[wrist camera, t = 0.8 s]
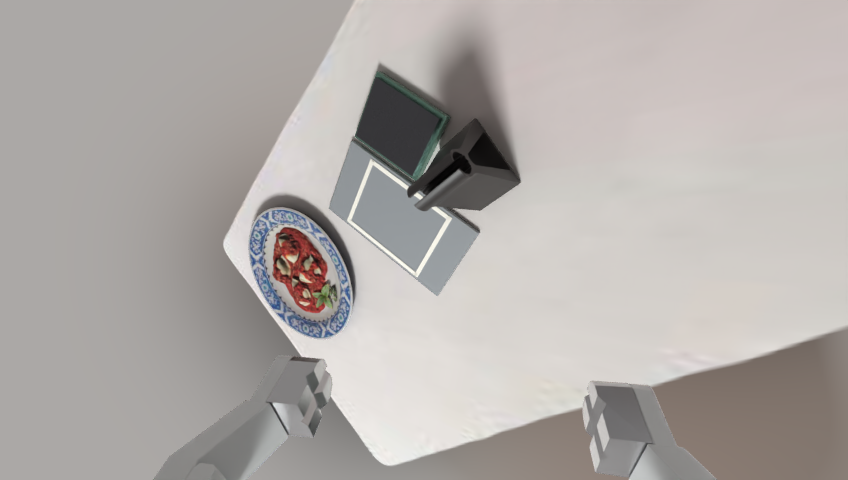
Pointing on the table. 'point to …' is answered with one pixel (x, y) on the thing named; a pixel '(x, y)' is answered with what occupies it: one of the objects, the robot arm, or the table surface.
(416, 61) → the table surface
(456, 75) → the table surface
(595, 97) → the table surface
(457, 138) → the phone stand
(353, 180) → the marked board
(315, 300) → the ceramic plate
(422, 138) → the ink pad
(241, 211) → the table surface
